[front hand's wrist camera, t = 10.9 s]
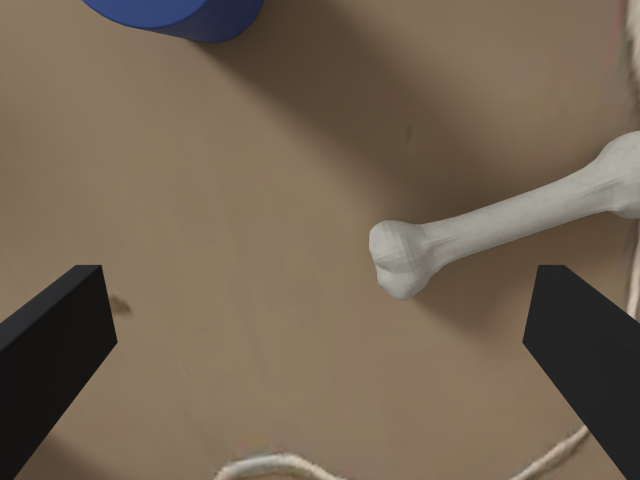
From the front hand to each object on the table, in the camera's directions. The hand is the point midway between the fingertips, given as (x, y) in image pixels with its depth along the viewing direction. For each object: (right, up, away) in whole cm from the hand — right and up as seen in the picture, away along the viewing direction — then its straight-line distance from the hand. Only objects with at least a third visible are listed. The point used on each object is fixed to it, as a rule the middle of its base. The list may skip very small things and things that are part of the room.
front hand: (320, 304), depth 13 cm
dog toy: (+13, +4, +18) cm, 23 cm away
